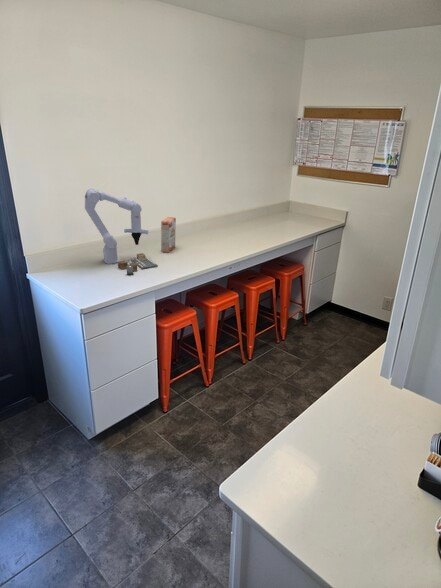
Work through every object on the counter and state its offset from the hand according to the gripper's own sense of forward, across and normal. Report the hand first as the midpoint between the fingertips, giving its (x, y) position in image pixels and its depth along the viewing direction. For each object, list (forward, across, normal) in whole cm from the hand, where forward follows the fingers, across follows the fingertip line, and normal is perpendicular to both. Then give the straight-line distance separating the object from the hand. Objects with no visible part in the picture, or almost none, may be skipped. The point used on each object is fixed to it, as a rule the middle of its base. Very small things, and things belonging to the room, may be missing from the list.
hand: (136, 244), depth 246 cm
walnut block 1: (+10, -4, -18) cm, 21 cm away
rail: (+9, +7, -8) cm, 14 cm away
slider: (+8, +3, -4) cm, 10 cm away
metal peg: (+9, +3, -26) cm, 28 cm away
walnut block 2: (+10, +3, -20) cm, 22 cm away
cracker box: (+10, +15, +23) cm, 29 cm away
